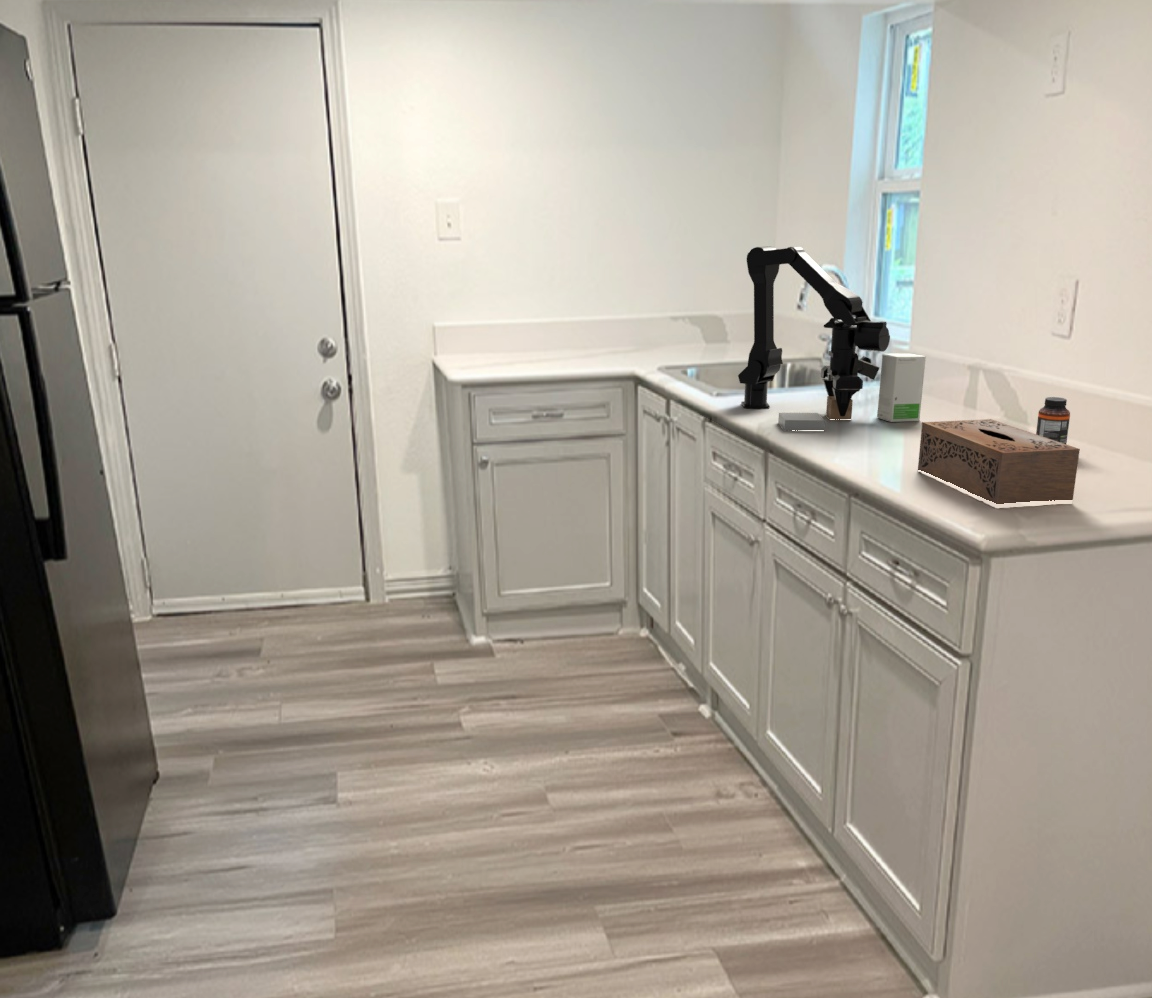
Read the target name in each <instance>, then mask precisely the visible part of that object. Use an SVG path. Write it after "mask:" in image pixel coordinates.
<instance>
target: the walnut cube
mask: <svg viewBox="0 0 1152 998" xmlns="http://www.w3.org/2000/svg"><path fill="white" fill-rule="evenodd" d="M853 403H854V400H853V398H851V400H850V403H849V406H848V409H847V412H846V415H845V416H840V414H839V410H838V407H837V403H836V400H835V396H828V395H827V396H826V409H825V410H826V411H825V412H826V413H825V417H826V416H827V417H828V418H829V419H835V420H834V421H841V420H840V419H851V420H852V415H853V414H852V413H853ZM827 417H826V418H827ZM828 418H827V419H828ZM829 419H828V420H829ZM836 419H837V420H836ZM838 419H839V420H838Z"/></svg>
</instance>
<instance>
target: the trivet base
mask: <svg viewBox="0 0 1152 998" xmlns="http://www.w3.org/2000/svg"><path fill="white" fill-rule="evenodd" d="M777 424H778V425H779V426H780V428H781V427H782V428H781V429H782V431H783V432H793V431H792V430H795V431H796V430H797V431H798V430H824V431H825V428H826V420H825V418H823V417H822V416H821V415H820V414H819V413H818V412H778V422H777ZM795 431H794V432H795Z"/></svg>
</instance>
